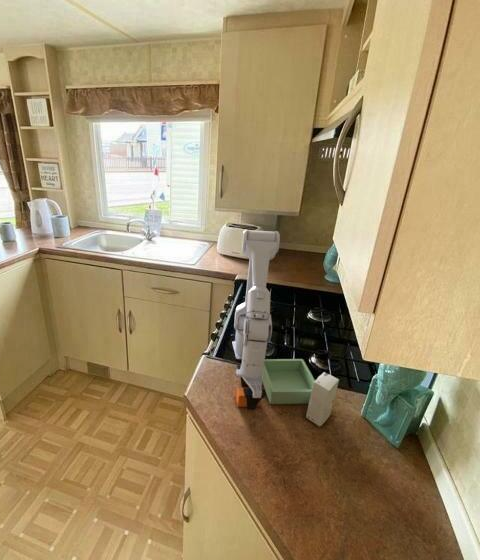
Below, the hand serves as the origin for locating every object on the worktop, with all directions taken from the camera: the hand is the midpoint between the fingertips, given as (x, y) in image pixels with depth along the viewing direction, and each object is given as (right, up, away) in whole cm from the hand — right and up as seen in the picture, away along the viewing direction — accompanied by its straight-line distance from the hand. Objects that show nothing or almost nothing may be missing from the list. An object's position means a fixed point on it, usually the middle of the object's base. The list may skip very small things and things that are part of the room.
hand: (248, 397), depth 87 cm
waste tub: (+13, +1, +7) cm, 14 cm away
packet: (0, -2, +1) cm, 2 cm away
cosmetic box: (+18, -4, -3) cm, 19 cm away
